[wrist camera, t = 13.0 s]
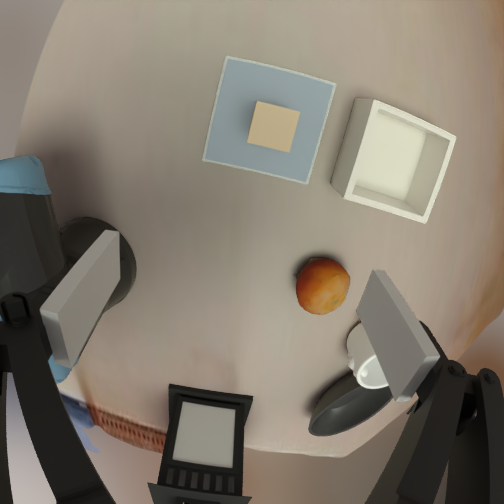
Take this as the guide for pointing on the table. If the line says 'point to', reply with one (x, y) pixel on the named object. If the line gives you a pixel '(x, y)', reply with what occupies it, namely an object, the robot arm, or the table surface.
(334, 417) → the bowl
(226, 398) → the lantern
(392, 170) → the white open storage bin
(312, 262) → the fruit
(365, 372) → the mug
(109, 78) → the table surface
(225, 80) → the lid
